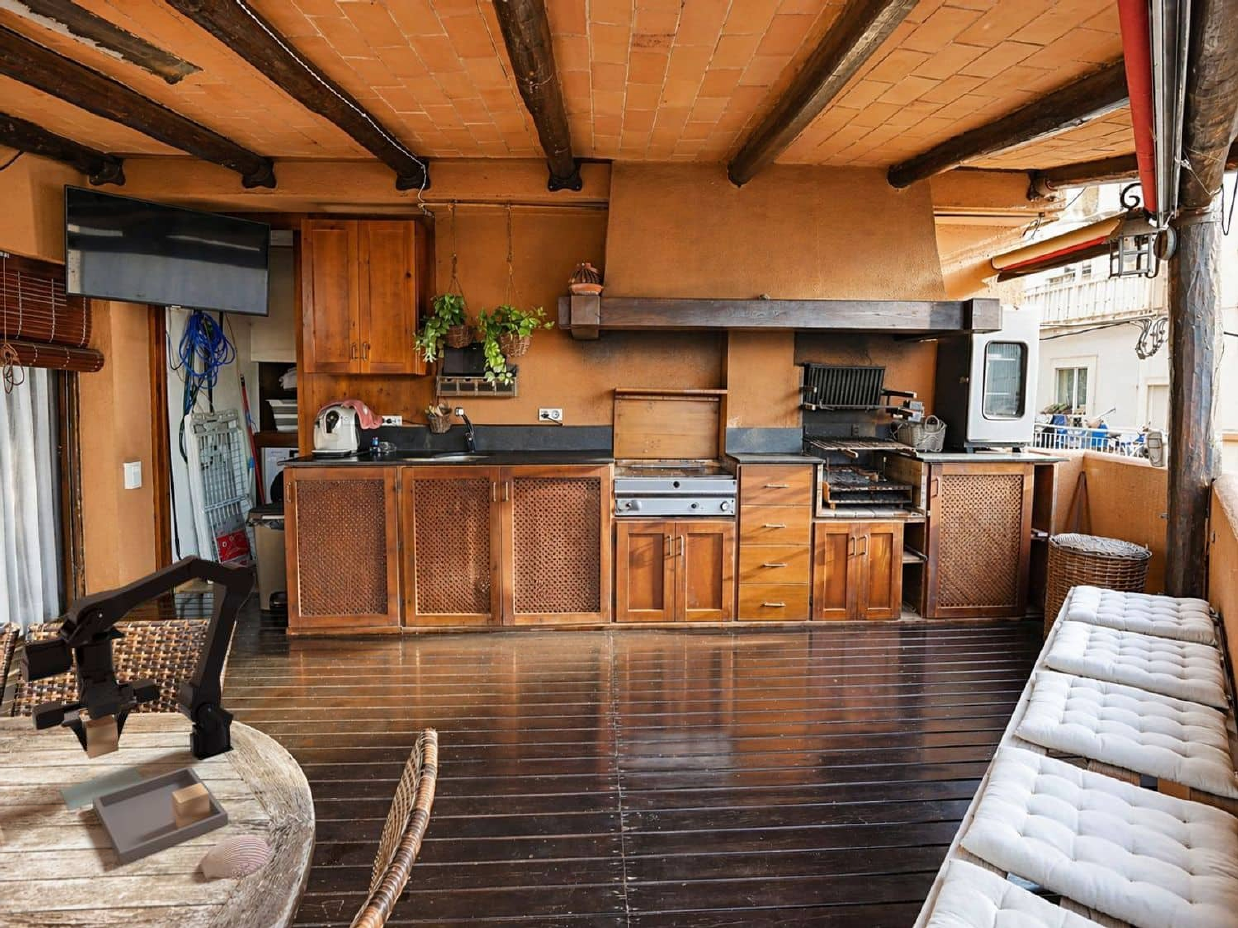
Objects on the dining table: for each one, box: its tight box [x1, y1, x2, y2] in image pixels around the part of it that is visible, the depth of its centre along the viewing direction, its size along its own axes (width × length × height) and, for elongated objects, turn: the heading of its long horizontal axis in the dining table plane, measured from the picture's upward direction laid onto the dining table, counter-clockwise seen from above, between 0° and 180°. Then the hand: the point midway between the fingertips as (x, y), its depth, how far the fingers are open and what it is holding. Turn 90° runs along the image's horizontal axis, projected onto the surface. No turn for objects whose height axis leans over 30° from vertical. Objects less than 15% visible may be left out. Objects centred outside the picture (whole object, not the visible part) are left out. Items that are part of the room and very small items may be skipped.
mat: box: [59, 766, 145, 811], centre depth 138 cm, size 12×9×1 cm
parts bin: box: [92, 765, 229, 867], centre depth 129 cm, size 16×22×2 cm
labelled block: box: [82, 715, 120, 760], centre depth 137 cm, size 4×4×6 cm
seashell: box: [199, 835, 271, 880], centre depth 118 cm, size 10×6×10 cm
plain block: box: [172, 783, 210, 829], centre depth 127 cm, size 4×4×6 cm
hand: (101, 745), depth 137 cm, fingers closed on labelled block, 4 cm apart
